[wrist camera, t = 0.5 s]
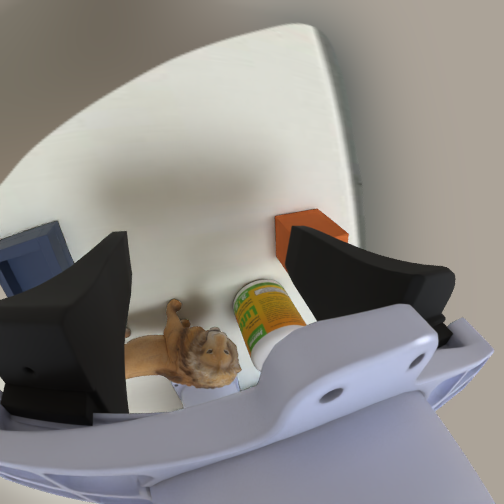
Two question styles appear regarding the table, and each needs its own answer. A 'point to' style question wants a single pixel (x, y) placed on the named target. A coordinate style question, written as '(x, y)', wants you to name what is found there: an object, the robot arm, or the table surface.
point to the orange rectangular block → (303, 219)
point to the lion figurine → (183, 354)
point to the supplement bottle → (264, 317)
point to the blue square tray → (32, 258)
